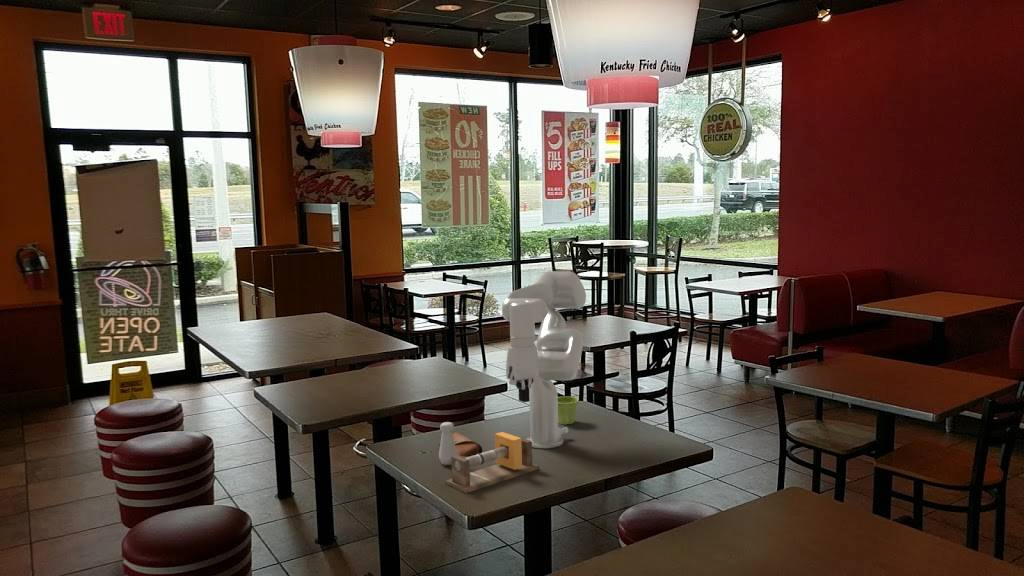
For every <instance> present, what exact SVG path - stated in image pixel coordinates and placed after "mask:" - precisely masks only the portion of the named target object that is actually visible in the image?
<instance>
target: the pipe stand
mask: <svg viewBox="0 0 1024 576" xmlns="http://www.w3.org/2000/svg"><path fill="white" fill-rule="evenodd" d="M518 437H519V438H521V446H522V467H521V468H518V469H515V470H514V469H511V468H509V467H506V466H504V465H501V464H498V463H496V464H494V465H490V466H488V467H485V468H481V469H478V470H474V471H472V472H471V470H470V468H473V467H476V466H479V465H483V464H486V463H489V462H492V461H495V460H496V459H499V458H503V457H506V456H509V447H508V446H504V447H501V448H497V449H495V448H494V449H491V450H488V451H485V452H484V451H483V452H482V453H479V454H476V455H471V456H466V457H461V456H458V455H455V456H452V457H451V461H452V465H451V478H449V479H446V480H445V485H447V486H450V487H451V486H452V487H451V488H454V489H456V490H458V491H460V492H462V491H463V492H462V493H464V492H465V493H464V494H468V492H469V493H472V492H474V491H476V490H479V489H483V488H487V487H490V486H492V485H495V484H498V483H501V482H504V481H507V480H510V479H513V478H516V477H519V476H521V475H525V474H527V473H531V472H533V471H537V470H540V465H538V464H537V463H534V462H533V447H532V441H530V440H527V438H523V437H520V436H518Z"/></svg>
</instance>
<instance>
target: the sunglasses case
mask: <svg viewBox="0 0 1024 576" xmlns="http://www.w3.org/2000/svg"><path fill="white" fill-rule="evenodd" d="M452 434H453V439H454V443H455V447H456V452H457V455H458V456H461V457H462V456H466V457H469V456H468V455H471V456H474V454H478V453H483V447H482V445H480V444H479V443H478V442H477V441H474V440H472V439H471V438H469V437H467V436H465V435H463V434H461V433H459V432H458V431H457V430H455V432H454V433H452ZM438 444H439V446H440V444H441V442H439V443H438Z"/></svg>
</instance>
